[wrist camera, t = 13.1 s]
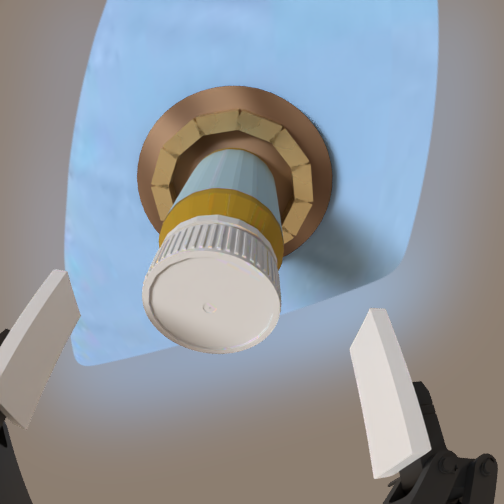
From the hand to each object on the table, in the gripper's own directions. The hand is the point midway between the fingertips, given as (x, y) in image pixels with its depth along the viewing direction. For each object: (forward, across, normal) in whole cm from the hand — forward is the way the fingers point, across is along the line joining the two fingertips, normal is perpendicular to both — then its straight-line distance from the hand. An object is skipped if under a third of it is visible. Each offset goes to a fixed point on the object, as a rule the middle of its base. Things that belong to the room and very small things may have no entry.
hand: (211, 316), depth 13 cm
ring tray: (+17, 0, 0) cm, 17 cm away
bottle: (+16, 0, 0) cm, 16 cm away
